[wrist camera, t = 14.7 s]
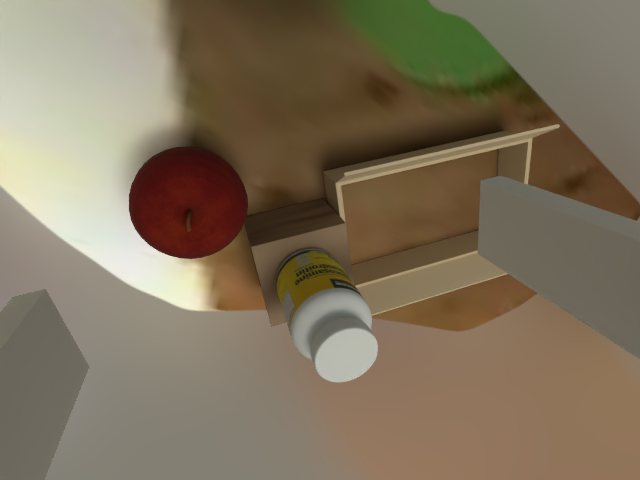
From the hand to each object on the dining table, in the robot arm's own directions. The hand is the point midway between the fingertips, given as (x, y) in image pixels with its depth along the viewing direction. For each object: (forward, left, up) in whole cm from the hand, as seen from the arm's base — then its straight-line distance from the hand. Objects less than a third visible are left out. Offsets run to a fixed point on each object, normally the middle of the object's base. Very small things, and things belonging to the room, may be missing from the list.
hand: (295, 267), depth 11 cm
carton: (+12, +20, -29) cm, 37 cm away
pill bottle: (+13, +4, -21) cm, 25 cm away
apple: (+4, -5, -29) cm, 30 cm away
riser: (+13, +4, -29) cm, 32 cm away
